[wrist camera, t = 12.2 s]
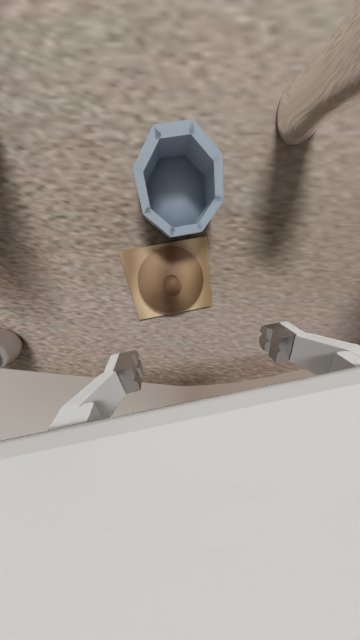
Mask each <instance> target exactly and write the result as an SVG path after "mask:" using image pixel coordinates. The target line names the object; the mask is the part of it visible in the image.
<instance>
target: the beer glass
mask: <svg viewBox="0 0 360 640" xmlns="http://www.w3.org/2000/svg"><path fill="white" fill-rule="evenodd" d="M359 103H360V0H356V1H355V3H354V4H353V6H352V7H351V9H350V10H349V12H348V13H347V15H346V16H345V18H344V19H343V21H342V22H341V24H340V25H339V27H338V28H337V30H336V31H335V33H334V34H333V36H332V37H331V39H330V40H329V42H328V43H327V45H326V46H325V47H324V49H323V50H322V51H321V53H320V54H319V55H318V57H317V58H316V59H315V60H314V61H313V62H312V63H311V64H310V65H309V66H308V67H306V68H305V69H304V70H303V71H302V72H301V73H299V74H298V75H297V76H296V77H295V78H294V79H293V80H292V81H291V82H290V84H289V85H288V86H287V88H286V89H285V91H284V93H283V95H282V97H281V100H280V103H279V107H278V112H277V127H278V132H279V135H280V137H281V138H282V140H283V141H284V142H285V143H287V144H289V145H297V144H300V143H302V142H304V141H305V140H307V139H308V138H309V137H310V136H311V135H312V134H313V133H314V132H315V131H316V130H317V129H318V128H319V127H320V126H321V125H323V124H324V123H325V122H326V121H327V120H329V119H330V118H332V117H333V116H335V115H337V114H338V113H340V112H342V111H344V110H346V109H348V108H350V107H352V106H355V105H357V104H359Z"/></svg>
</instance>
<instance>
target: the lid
mask: <svg viewBox="0 0 360 640" xmlns="http://www.w3.org/2000/svg"><path fill="white" fill-rule="evenodd" d="M203 282H204V278H203V271H202V268H201V266H200V264H199V262H198V260H197V259H196V258H195V257H194V256H193V255H192V254H191V253H189V252H188V251H186V250H184V249H182V248H178V247H171V246H169V247H162V248H159V249H157V250H155V251H153V252H152V253H150V254H149V255H148V256H147V257H146V258H145V260H144V261H143V263H142V264H141V266H140V269H139V273H138V287H139V291H140V293H141V295H142V297H143V299H144V300H145V301H146V302H147V303H148V304H149V305H150V306H151V307H153V308H154V309H156V310H158V311H161V312H165V313H176V312H180V311H183V310H185V309H187V308H189V307H190V306H191V305H193V304H194V303H195V301H196V300H197V299H198V297H199V296H200V294H201V291H202V288H203Z"/></svg>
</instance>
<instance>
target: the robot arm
mask: <svg viewBox="0 0 360 640" xmlns="http://www.w3.org/2000/svg"><path fill="white" fill-rule="evenodd" d="M260 332H261V333H262V335H261V336H260V338H259V343H260V346H261V348H262V349H263V350H264V351H266V352H268V353H269V356H270V357H271V358H272V359H273V360H274V362H275V363H277V362H283V361H289V360H290V362H292V363H294V364H296V365H298V366H300V367H302V368H304V369H307V370H309V371H311V372H313V373H315V374H317V375H315V376H310V377H305V378H300V379H296V380H291V381H286V382H281V383H276V384H271V385H266V386H262V387H257V388H252V389H247V390H242V391H237V392H233V393H228V394H223V395H218V396H213V397H209V398H204V399H200V400H194V401H190V402H185V403H180V404H175V405H170V406H165V407H161V408H156V409H151V410H146V411H141V412H137V413H132V414H127V415H122V416H118V417H113V418H110V416H111V415H112V414H113V412H114V411H115V409H116V408H117V406H118V405H119V404H120V402H121V401H122V399H123V398H124V396H125V395H126V393H130V392H135V391H139V390H140V389H141V382H142V381H141V378H140V377H141V376H142V374H143V367H142V363H141V360H139V359H138V357H139V354H138V352H137V351H136V350H134V351H128V352H122V353H117V354H112V355H111V357H110V359H109V361H108V364H107V366H106V368H105V370H104V373H103V374H100V375H99V376H98V377H97V378H95V379H94V380H93V381H92V382H91V383H90V384H88V385H87V386H86V387H85V388H84V389H82V390H81V391H80V392H79V393H78V394H77V395H75V396H74V397H73V398H72V399H71V400H70V401H68V402H67V403H66V404H65V405H64V406H62V407H61V409H60V411H59V413H58V414H57V416H56V418H55V419H54V421H53V422H52V424H51V426H50V428H49V429H48V431H45V432H40V433H35V434H31V435H26V436H21V437H17V438H12V439H6V440H2V441H0V640H360V345H357V344H353V343H349V342H344V341H340V340H336V339H332V338H328V337H324V336H320V335H315V334H311V333H305V332H303V331H302V330H300V329H299V328H297V327H295V326H294V325H292V324H290V323H289V322H287V321H282V322H278V323H274V324H269V325H264V326H262V327H261V329H260Z"/></svg>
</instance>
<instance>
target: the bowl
mask: <svg viewBox="0 0 360 640" xmlns="http://www.w3.org/2000/svg"><path fill="white" fill-rule="evenodd" d="M133 172H134V176H135V181H136V185H137V190H138V194H139V199H140V203H141V208H142V213H143V215H144V217H145V219H146V220H147V221H148V222H149V223H151V224H152V225H153V226H154V227H156V228H157V229H158V230H159V231H161V232H162V233H163V234H164V235H165V236H167V237H168V238H173V237H178V236H184V235H190V234H195V233H199V232H202V231H203V230H204V228H205V227H206V225H207V224H208V222H209V221H210V220H211V218H212V217H213V215H214V214H215V212H216V211H217V209H218V208H219V206H220V205H221V203H222V202H223V155H222V153H221V152H220V151H219V149H218V148H217V147H216V146H215V145H214V143H213V142H212V141H211V140H210V138H209V137H208V136H207V135H206V134H205V132H204V131H203V130H202V129H201V127H200V126H199V125H198V124H197V122H196V121H195V120H193V119H190V120H183V121H176V122H169V123H162V124H155V125H154V126H152V128H151V131H150V133H149V135H148V137H147V139H146V141H145V143H144V145H143V147H142V150H141V152H140V154H139V156H138V158H137V160H136V162H135V164H134V166H133Z"/></svg>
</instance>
